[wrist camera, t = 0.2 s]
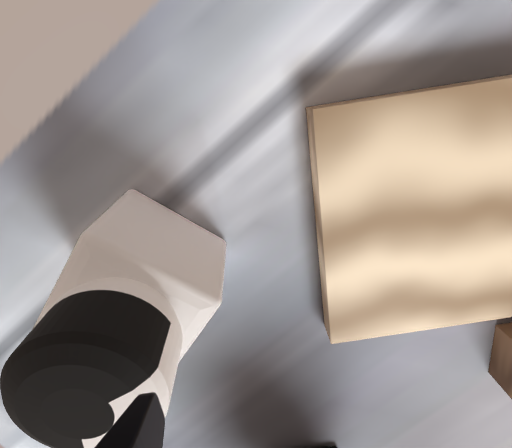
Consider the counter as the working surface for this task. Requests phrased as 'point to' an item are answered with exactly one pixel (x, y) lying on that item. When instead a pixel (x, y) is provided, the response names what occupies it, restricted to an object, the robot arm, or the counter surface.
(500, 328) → the walnut block
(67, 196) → the counter surface
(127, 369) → the medicine bottle
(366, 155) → the birch base
